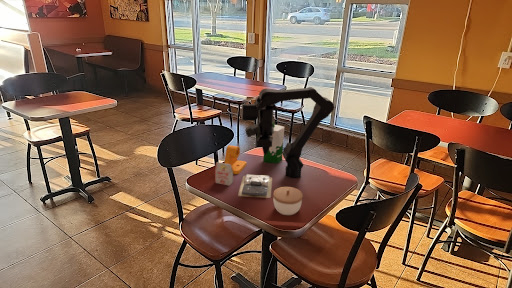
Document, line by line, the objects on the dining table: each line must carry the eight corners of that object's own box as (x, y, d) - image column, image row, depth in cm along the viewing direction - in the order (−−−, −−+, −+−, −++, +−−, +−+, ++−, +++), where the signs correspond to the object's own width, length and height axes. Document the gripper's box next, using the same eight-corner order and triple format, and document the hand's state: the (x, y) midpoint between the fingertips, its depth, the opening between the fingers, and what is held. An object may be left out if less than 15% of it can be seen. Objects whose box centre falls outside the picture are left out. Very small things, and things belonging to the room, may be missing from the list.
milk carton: (269, 156, 169) (270, 119, 161) (284, 160, 164) (286, 122, 157) (260, 162, 162) (261, 123, 154) (276, 166, 157) (278, 127, 150)
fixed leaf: (268, 177, 145) (269, 172, 144) (267, 188, 136) (267, 183, 135) (246, 176, 146) (246, 171, 145) (243, 186, 137) (244, 181, 136)
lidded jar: (271, 218, 118) (272, 196, 114) (273, 202, 128) (274, 181, 124) (301, 221, 116) (302, 198, 113) (301, 205, 126) (303, 183, 123)
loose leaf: (268, 185, 138) (268, 181, 137) (266, 195, 129) (267, 190, 128) (244, 184, 139) (244, 179, 138) (241, 194, 129) (241, 189, 129)
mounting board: (272, 179, 145) (272, 177, 145) (270, 199, 129) (270, 197, 129) (243, 178, 146) (243, 176, 146) (238, 198, 130) (238, 195, 130)
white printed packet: (218, 181, 143) (218, 160, 140) (233, 183, 141) (232, 162, 137) (215, 184, 140) (214, 163, 136) (229, 187, 138) (229, 166, 134)
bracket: (238, 176, 148) (238, 152, 143) (223, 173, 150) (223, 149, 145) (247, 166, 157) (247, 143, 152) (233, 164, 159) (233, 141, 155)
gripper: (249, 112, 145) (248, 145, 151) (244, 126, 127) (244, 162, 133) (274, 113, 144) (273, 146, 150) (272, 127, 127) (271, 163, 132)
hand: (265, 154), depth 141 cm, fingers closed
